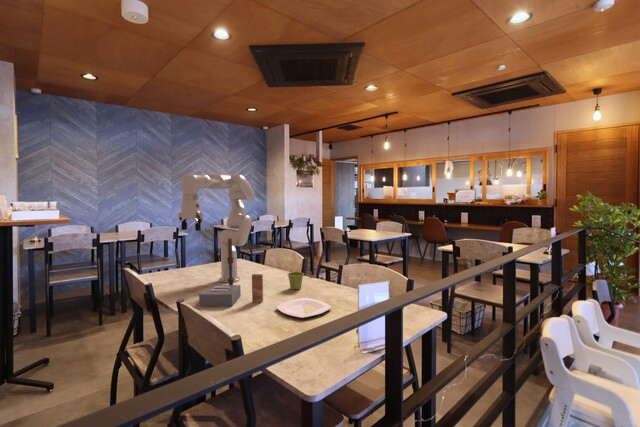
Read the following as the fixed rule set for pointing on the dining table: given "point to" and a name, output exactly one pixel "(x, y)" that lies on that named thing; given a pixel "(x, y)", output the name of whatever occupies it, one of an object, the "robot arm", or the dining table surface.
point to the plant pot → (295, 279)
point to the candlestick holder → (230, 261)
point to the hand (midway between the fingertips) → (191, 230)
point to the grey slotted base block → (220, 296)
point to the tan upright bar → (257, 288)
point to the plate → (297, 310)
